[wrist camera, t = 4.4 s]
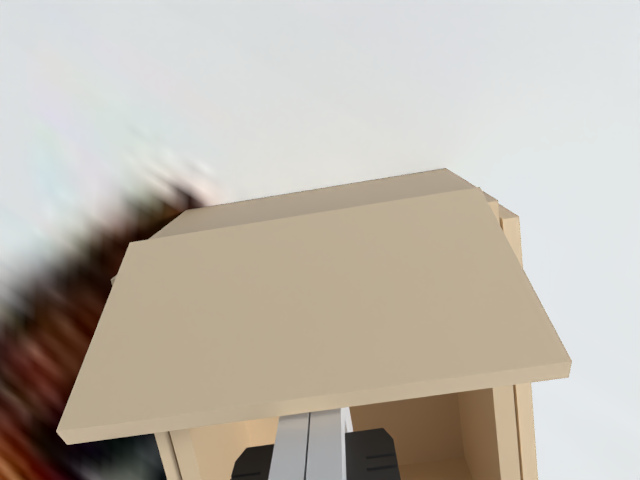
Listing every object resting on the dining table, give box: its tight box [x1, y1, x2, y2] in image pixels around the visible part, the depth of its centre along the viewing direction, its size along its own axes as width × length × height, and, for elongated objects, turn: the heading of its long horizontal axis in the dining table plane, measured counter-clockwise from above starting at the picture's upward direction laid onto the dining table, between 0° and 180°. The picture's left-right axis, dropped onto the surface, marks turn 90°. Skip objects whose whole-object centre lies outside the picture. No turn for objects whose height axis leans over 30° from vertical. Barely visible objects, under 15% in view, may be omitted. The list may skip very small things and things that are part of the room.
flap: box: [56, 187, 572, 445], centre depth 16 cm, size 1×12×8 cm, turn 100°
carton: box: [111, 168, 538, 480], centre depth 26 cm, size 18×16×9 cm
